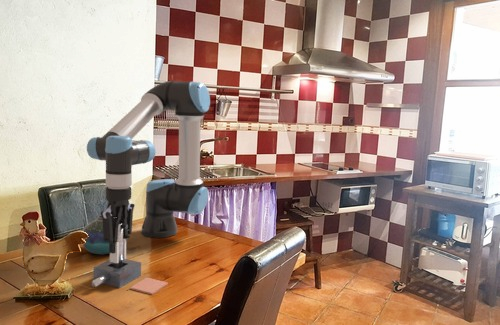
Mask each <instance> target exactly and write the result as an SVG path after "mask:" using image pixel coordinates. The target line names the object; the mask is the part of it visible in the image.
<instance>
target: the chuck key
mask: <svg viewBox="0 0 500 325" xmlns="http://www.w3.org/2000/svg"><path fill="white" fill-rule="evenodd" d="M127 228H128V224H123V223H122V222H119V226H118V235H117V242H119V263H113V267H114V268H118V269H119V268H121V267H123V229H127Z"/></svg>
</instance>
